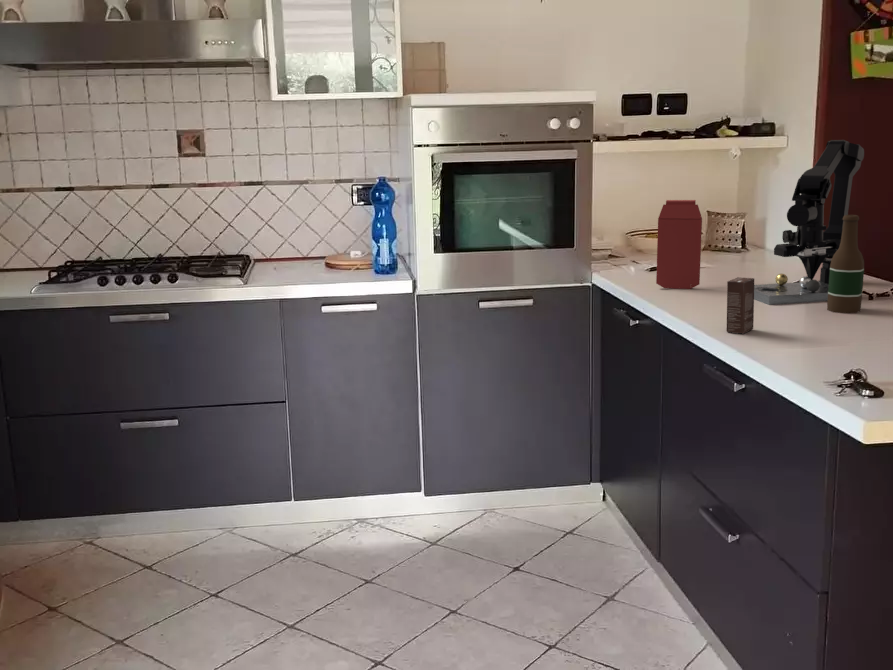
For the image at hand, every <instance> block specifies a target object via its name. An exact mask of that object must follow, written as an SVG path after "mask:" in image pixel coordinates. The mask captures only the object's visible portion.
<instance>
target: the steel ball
mask: <svg viewBox="0 0 893 670" xmlns="http://www.w3.org/2000/svg"><path fill="white" fill-rule="evenodd" d="M810 280H811V279H810V278H809V277H808V276H807V275H806V276H802V277H801V278H800V279H799V284H800V286H801V287H802V288H807V283H808V282H809V281H810Z"/></svg>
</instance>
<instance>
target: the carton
mask: <svg viewBox="0 0 893 670" xmlns="http://www.w3.org/2000/svg"><path fill="white" fill-rule="evenodd" d="M696 203H697V202H696V199H666V201H665V204H663V205H662V207H661V209H660V212H659V215H658V218H657V246H656V249H657V250H656V276H655V277H656V278H655V279H656V280H655V283H656V285H658V286H659V287H661V288H664V289H681V290H683V289H684V290H686V289H688V290H692V289H693V288H695V287H698V286H699V285H700V281H701V280H700V279H701V278H700V277H701V256H702V255H701V254H702V233H703V232H702V230H703V218H702V214H701V211H700V207H699V204H696Z"/></svg>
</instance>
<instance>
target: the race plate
mask: <svg viewBox="0 0 893 670" xmlns="http://www.w3.org/2000/svg"><path fill="white" fill-rule="evenodd" d="M817 281H818V282H819V281H820V280H817ZM819 284H820V287H819V289H818V290H817V291H815V292H811V291H809V290H808V289H807V288H802V287H801V286H800V284H799V282H787V283H786V284H784V285H778V284H777V283H767V284H766V283H765V284H763V283H762V284H754V301H756V302H759V303H762V304H764V305H767V306H775V305H776V306H777V305H787V304H788V305H790V304H802V303H803V304H804V303H816V302H818V303H819V302H827V301H828V287H829V284H825V283H822V282H819Z"/></svg>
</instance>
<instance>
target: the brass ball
mask: <svg viewBox="0 0 893 670" xmlns="http://www.w3.org/2000/svg"><path fill="white" fill-rule="evenodd" d="M788 280H789V279H788V276H787V274H785V273H779V274H777V275H776V276H775V284H778V285H784V284H786V283H788Z"/></svg>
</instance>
